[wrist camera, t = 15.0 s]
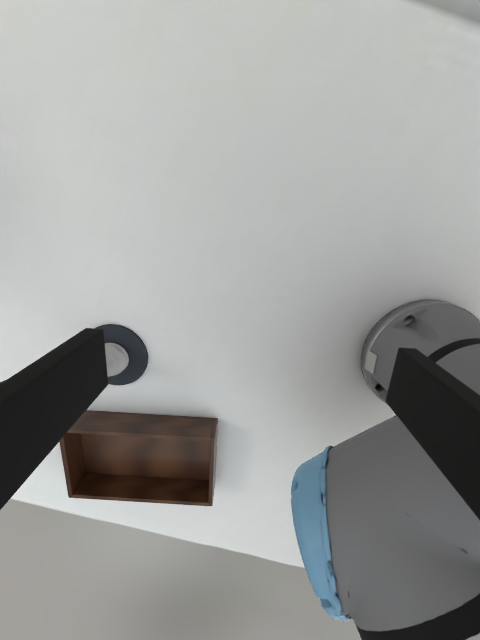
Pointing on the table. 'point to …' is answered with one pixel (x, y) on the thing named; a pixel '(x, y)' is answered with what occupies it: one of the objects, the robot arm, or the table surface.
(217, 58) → the table surface
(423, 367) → the robot arm
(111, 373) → the rook chess piece
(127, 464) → the tray
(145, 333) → the table surface
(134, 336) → the coaster
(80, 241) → the table surface
